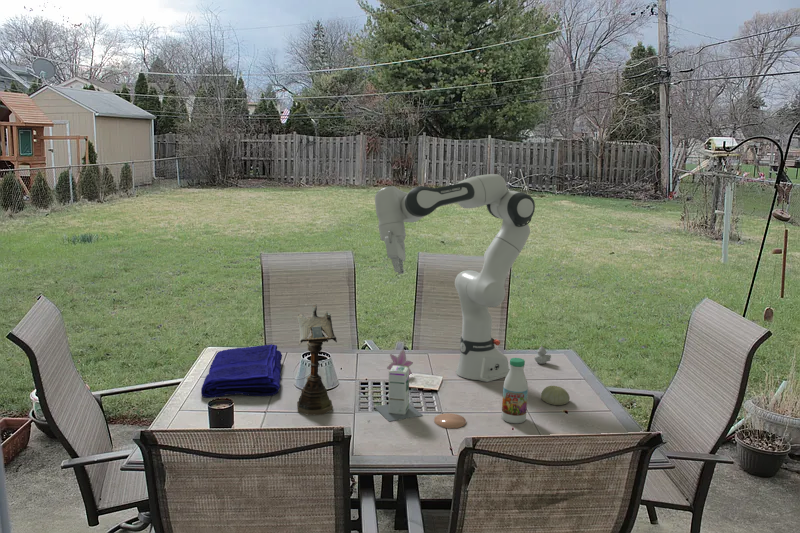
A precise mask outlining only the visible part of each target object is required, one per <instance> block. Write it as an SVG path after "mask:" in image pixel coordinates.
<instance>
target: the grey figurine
mask: <svg viewBox="0 0 800 533" xmlns="http://www.w3.org/2000/svg"><path fill="white" fill-rule="evenodd" d="M551 358H552V355H551V354H549V353H547V350H546V348H544V347H543V345H542V344H541V346H540V347H539V348H538V350H536V355H535V356H534V361H535V362H536V363H537V364H539V365H544V364H546V363H547V362H550V361H551Z"/></svg>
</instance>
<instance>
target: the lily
mask: <svg viewBox="0 0 800 533" xmlns="http://www.w3.org/2000/svg"><path fill="white" fill-rule="evenodd" d="M389 356H390V359H391V361H392V362H391V363H390V364H388V366H387V367H386V369H387V370H389V371H390V369H391V368H392V366H406V367H409V375H410V374H412V375H413V373H412V370H411V368H410V367H411V366H412V365H413V363H414V362H413V361H411V360H407V355H406V351H405V349H402V350H401V351H400V353H399V354H398V356H396V355H394V354H393V353H389Z"/></svg>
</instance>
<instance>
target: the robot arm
mask: <svg viewBox="0 0 800 533" xmlns="http://www.w3.org/2000/svg"><path fill="white" fill-rule="evenodd" d="M453 204H458V205H459V207H461V208H463V209H474V208H475V209H476V208H480V207H483V206H486V208H487V211H488V212H489V214H490V215H491V216H492V217H494V218H497V219H500V220H502V222H501V227H500V229H499V231H498V232H497V234H496V235H495V237H493V239H492V241H491V243H490V244H489V246H488V247H487V248H486V250H485V251H484V254H483V260H484V262H483V265H482V269H481V270H480V271H477V270H463V271H461V272H459V273H457V275H456V276H455V279H454V288H455V290H456V293H457V295H458V298H459V303H460V309H461V314H462V318H461V319H462V323H461V324H462V326H461V327H462V328H461V329H462V330H461V337H460V343H459V344H460V345H459V346H460V347H459V350H460V354H459V358H458V364H457V367H456V371H455V372H456V375H458V376H460V377H461V378H465V379H468V380H473V381H474V380H476V381H482V382H488V383H489V382H491V381H496V380H499V379H502V378H506V376H507V375H508V373H509V370H510V364H509V360H508V357H507V356H506V354H504V353H502V351H501V350H499V349H498V348H497V347H495V345H496V346H500V345H501V341H500V340H499V339H495V338H492V332H493V330H492V329H493V328H492V327H493V318H492V315H491V313H490V311H489V308H495V307H498V306H500V305H501V304H502V303H503V301H504V300H505V298H506V289H505V285H506V280H507V277H508V274H509V272H510V270H511V268H512V267H513V265H514V264H515V262H516V259H517V258H518V257H519V255H521V254H520V253H521V252H522V250H523V249H524V247H525V246H526V243H527V241H528V239H529V237H530V234H531V227H530V225H529V223H531V221H532V217H533V216H534V213H535V211H536V210H535V209H536V204H535V200H534V199H533V197H532V196H531V195H530V194H528V193H526V192H520V191H516V190H509V189H508V187H507V182H506V180H505V178H504V177H503V176H502V175H500V174H497V173H490V174H489V173H488V174H487V173H486V174H481V175H476V176H471V177H467V178H465V179H462V180H460V181H458V182H457V183H455V184H454V183H453V184H450V185H444V186H440V187H429V186H426V185H425V186H424V185H420V186H419V185H418V186H415V187H413V188H412V189H410V191H409V192H406V191H404V190H401V189H399V188H397V187H396V186H395V185H389V186H385V187H382V188H380V189H379V190H377V192H376V193H375V194H374V205H375V213H376V216H377V219H378V232H379V236H380V241H382V242H384V244H385V249H386V254H387V255H386V256H387V258H388V259H389V260H391V263H392V267H393V271H394V272H395V273H397V274H398V275H403V274H405V272H404V271H405V270H404V262H406V246H405V240H406V236H407V233H406V227H405V223H415V222H418V221H420V220H421V219H423V218H424V217H427V216H429V215H430V214H432V213H433V212H434V211H435V210H436V209H437V208H439V207H444V206H448V205H453Z"/></svg>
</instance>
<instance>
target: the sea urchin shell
mask: <svg viewBox="0 0 800 533" xmlns="http://www.w3.org/2000/svg"><path fill="white" fill-rule="evenodd" d="M540 396H541V397H540V398H541V399H542V401H543V402H545V403H546V404H550V405H553V406H562V405H567V404H568V403H569V402H570V399H571V398H570V395H569V392H568V390H566V389H564V387H561V386H557V385H548V386H546V387H545V388H544V389H543V390H542V391H541V393H540Z"/></svg>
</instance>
